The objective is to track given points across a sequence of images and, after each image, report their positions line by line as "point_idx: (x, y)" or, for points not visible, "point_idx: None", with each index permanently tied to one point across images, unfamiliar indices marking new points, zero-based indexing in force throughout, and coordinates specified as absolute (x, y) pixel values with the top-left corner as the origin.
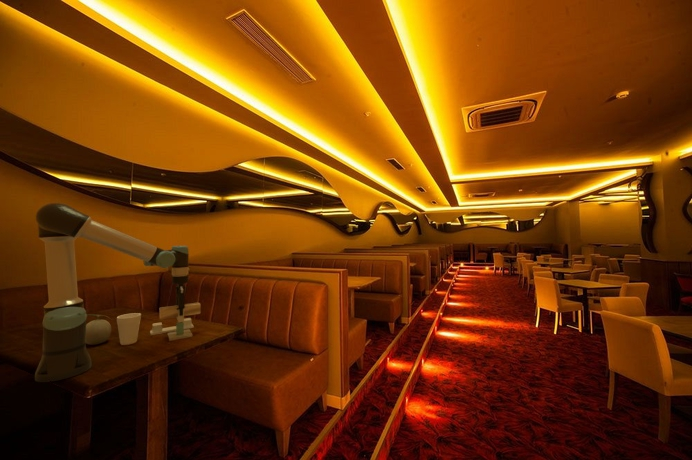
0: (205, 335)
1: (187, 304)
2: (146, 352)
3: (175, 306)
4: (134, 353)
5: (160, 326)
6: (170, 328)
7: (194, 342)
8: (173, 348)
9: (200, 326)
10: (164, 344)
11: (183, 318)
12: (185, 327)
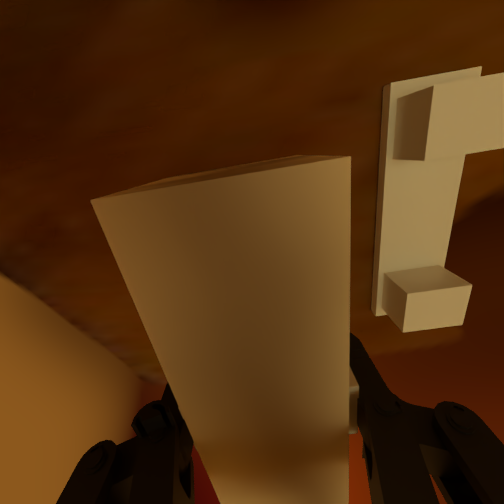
0: None
1: (309, 499)
2: (27, 111)
3: (266, 411)
4: (20, 32)
5: (415, 149)
6: (417, 206)
7: (125, 316)
8: (64, 241)
9: (370, 334)
10: None
11: None
12: (376, 281)
